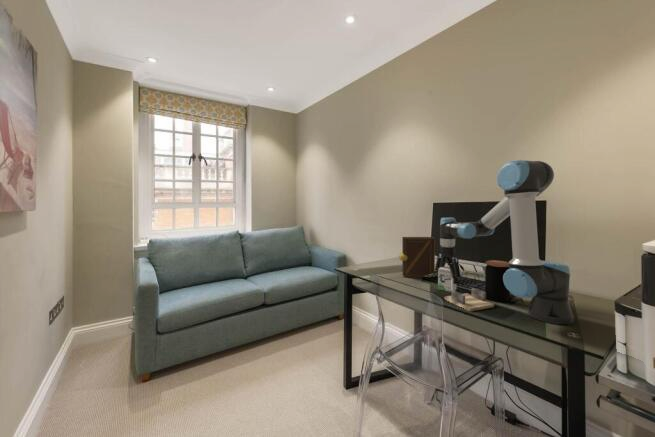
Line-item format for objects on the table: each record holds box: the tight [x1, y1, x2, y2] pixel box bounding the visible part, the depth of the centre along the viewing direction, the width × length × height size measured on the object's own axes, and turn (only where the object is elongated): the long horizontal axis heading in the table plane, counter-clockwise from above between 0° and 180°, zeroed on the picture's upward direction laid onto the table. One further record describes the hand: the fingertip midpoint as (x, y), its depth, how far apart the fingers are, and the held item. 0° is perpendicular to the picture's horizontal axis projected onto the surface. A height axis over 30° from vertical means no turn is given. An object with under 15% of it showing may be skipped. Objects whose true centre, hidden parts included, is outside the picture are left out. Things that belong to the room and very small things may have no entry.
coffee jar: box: [484, 259, 511, 303], centre depth 141 cm, size 11×11×18 cm
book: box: [398, 236, 436, 279], centre depth 184 cm, size 22×8×25 cm, turn 82°
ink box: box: [437, 266, 457, 293], centre depth 156 cm, size 9×5×12 cm, turn 51°
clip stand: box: [444, 287, 495, 312], centre depth 136 cm, size 16×14×6 cm
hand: (447, 286), depth 157 cm, fingers closed on ink box, 9 cm apart
